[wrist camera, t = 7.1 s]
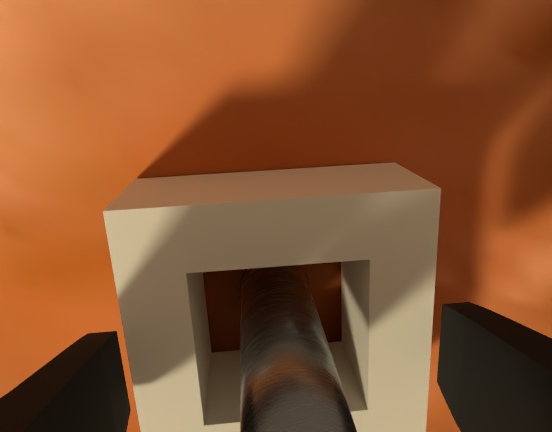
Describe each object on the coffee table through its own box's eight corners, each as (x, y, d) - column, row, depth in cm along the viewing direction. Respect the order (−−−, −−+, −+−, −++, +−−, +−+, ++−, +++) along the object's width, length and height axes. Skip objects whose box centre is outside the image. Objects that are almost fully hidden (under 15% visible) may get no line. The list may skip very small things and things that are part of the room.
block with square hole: (388, 377, 14) (424, 452, 12) (167, 398, 14) (149, 480, 11) (394, 162, 12) (441, 188, 9) (135, 179, 12) (103, 211, 9)
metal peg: (314, 314, 14) (426, 677, 5) (245, 326, 14) (253, 712, 5) (304, 250, 13) (414, 551, 5) (232, 263, 13) (218, 590, 5)
